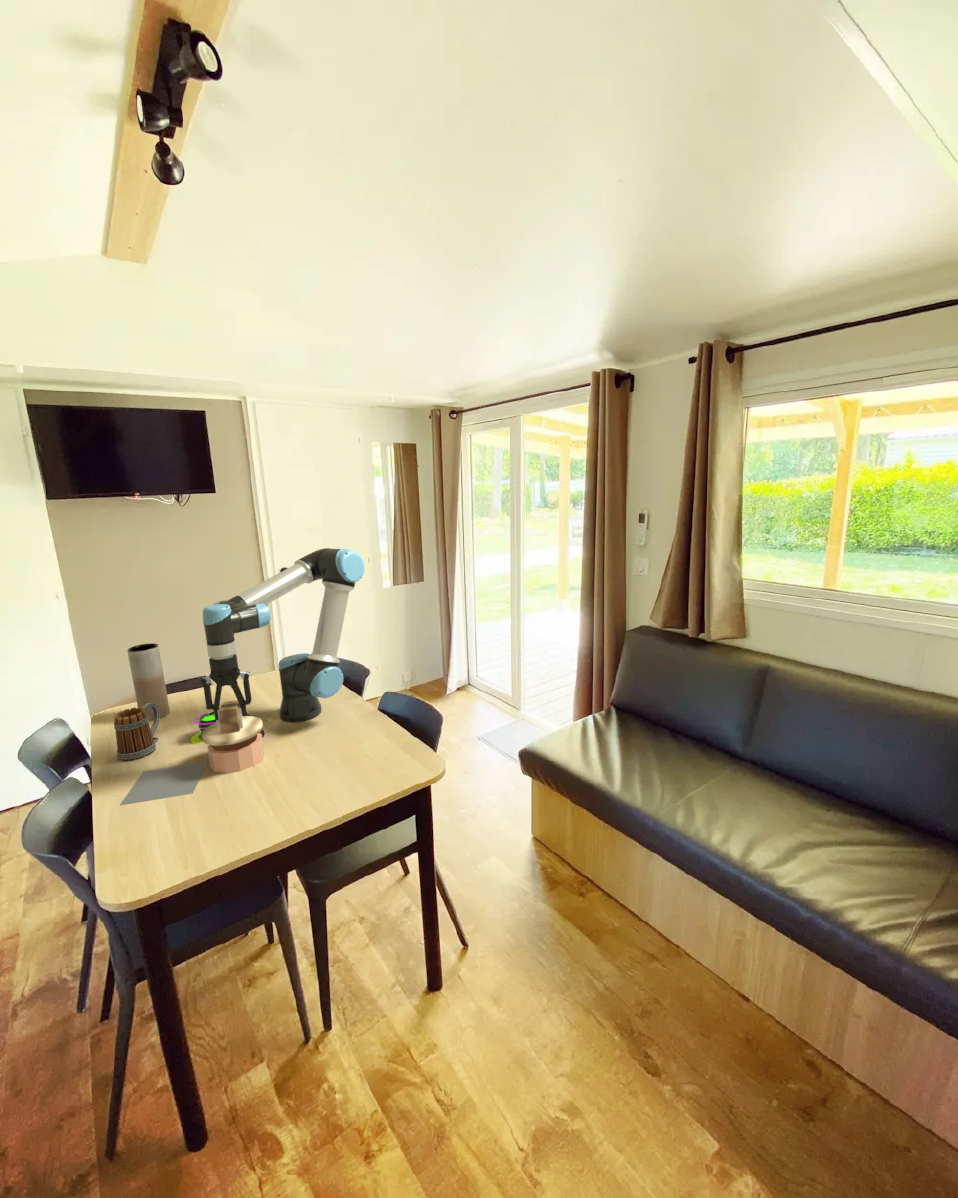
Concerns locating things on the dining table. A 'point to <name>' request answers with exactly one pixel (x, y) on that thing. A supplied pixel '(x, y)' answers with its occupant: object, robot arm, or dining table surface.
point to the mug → (136, 732)
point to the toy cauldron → (203, 725)
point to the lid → (231, 726)
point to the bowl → (236, 755)
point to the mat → (165, 783)
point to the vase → (148, 678)
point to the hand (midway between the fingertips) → (232, 727)
